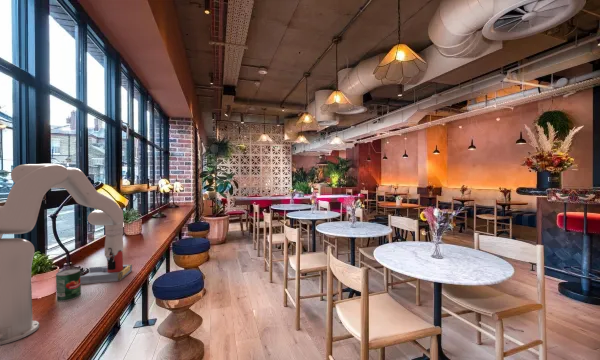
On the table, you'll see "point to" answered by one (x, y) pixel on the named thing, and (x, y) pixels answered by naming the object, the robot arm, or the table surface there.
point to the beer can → (117, 262)
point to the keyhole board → (104, 274)
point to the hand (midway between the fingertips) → (115, 266)
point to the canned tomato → (68, 284)
